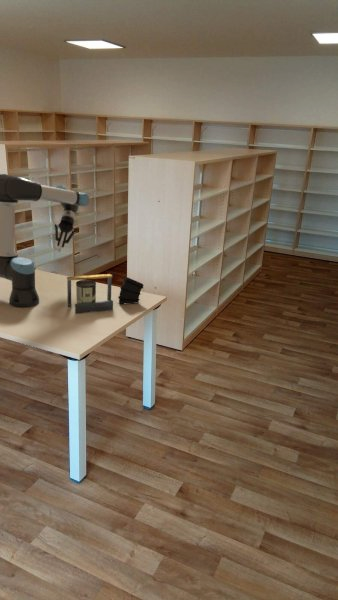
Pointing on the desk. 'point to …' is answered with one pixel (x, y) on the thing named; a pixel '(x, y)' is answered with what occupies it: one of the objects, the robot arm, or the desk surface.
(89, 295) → the coffee can
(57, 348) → the desk surface
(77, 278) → the retention bracket
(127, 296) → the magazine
